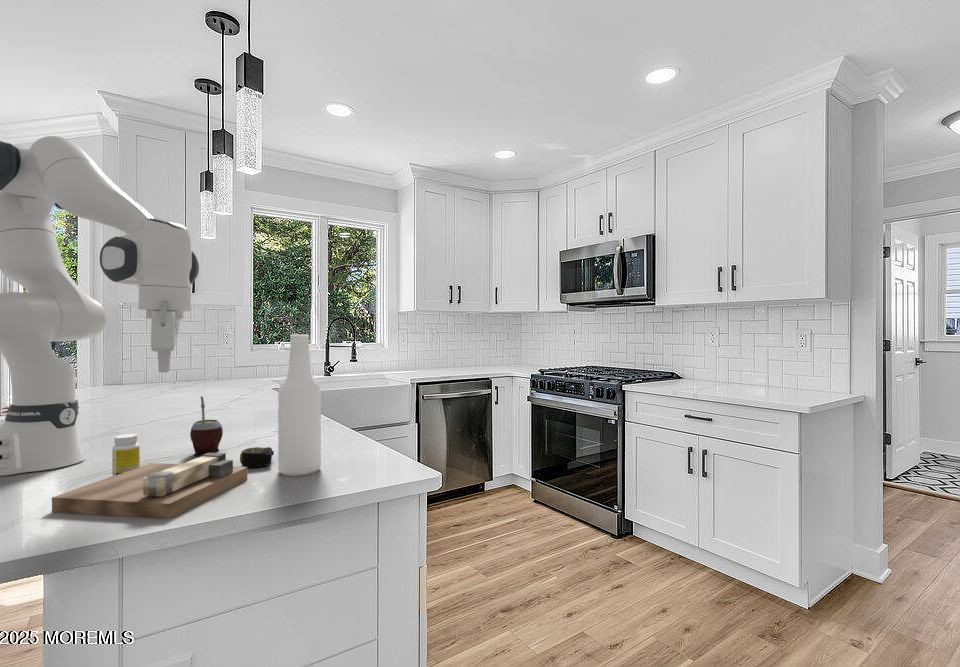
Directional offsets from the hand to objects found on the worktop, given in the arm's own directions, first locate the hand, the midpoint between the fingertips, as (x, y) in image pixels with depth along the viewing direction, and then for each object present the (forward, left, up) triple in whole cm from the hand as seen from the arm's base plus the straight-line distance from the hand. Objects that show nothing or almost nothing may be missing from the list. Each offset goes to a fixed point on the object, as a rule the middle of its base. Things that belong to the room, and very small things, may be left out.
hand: (164, 371), depth 101 cm
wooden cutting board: (+3, -5, -23) cm, 23 cm away
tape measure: (+10, +17, -23) cm, 30 cm away
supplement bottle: (-13, +5, -23) cm, 27 cm away
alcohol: (+22, +13, -23) cm, 34 cm away
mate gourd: (-8, +24, -23) cm, 34 cm away
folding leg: (+9, -5, -20) cm, 22 cm away
